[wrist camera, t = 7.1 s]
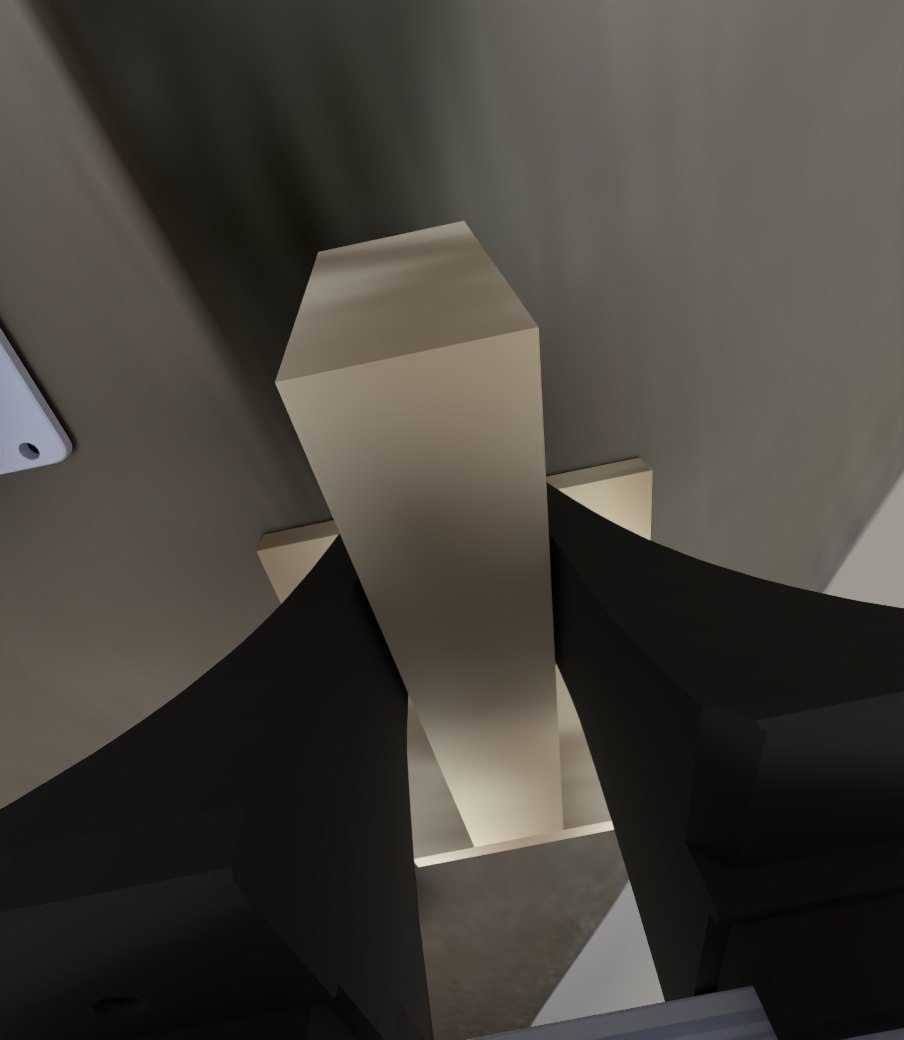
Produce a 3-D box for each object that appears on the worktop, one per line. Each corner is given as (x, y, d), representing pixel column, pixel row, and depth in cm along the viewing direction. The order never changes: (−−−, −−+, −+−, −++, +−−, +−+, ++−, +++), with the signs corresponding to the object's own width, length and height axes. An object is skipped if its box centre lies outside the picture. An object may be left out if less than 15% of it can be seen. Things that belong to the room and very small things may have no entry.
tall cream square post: (408, 706, 18) (418, 867, 14) (217, 273, 8) (93, 420, 5) (571, 674, 18) (624, 827, 14) (567, 198, 8) (725, 287, 5)
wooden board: (376, 784, 25) (376, 804, 24) (263, 534, 17) (256, 551, 16) (635, 733, 25) (644, 751, 24) (639, 457, 17) (652, 469, 16)
